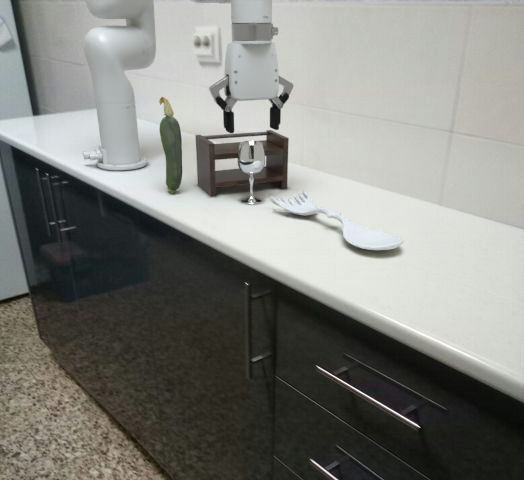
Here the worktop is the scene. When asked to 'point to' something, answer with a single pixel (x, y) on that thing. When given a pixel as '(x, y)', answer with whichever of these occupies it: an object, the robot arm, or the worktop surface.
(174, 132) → the vegetable
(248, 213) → the worktop surface
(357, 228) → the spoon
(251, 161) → the wineglass
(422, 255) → the worktop surface
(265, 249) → the worktop surface
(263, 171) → the rack
